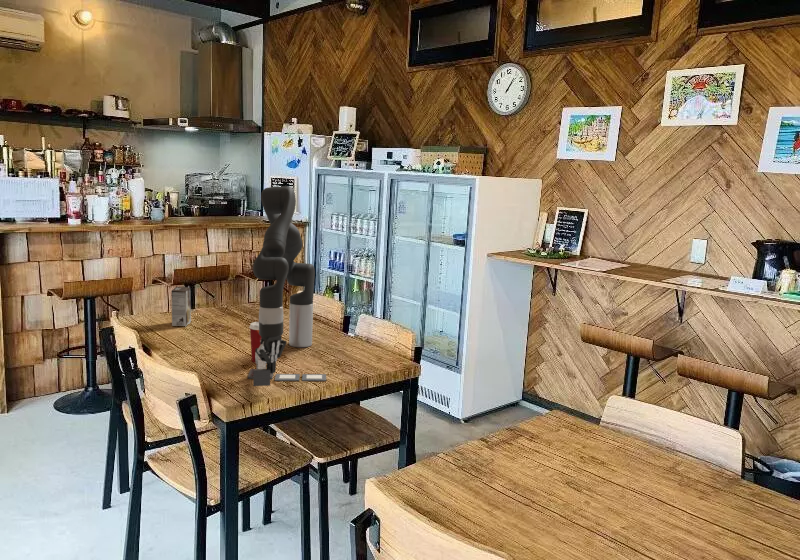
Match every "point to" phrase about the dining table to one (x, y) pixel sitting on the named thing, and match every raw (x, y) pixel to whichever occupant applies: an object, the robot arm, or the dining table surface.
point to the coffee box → (181, 306)
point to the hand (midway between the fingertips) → (271, 372)
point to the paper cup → (254, 338)
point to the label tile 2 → (314, 377)
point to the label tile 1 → (287, 377)
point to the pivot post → (251, 373)
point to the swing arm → (261, 373)
